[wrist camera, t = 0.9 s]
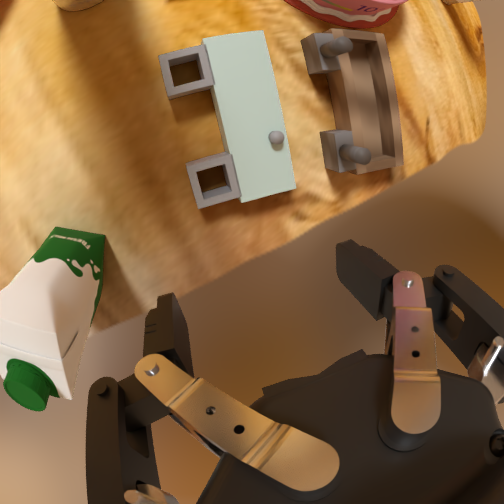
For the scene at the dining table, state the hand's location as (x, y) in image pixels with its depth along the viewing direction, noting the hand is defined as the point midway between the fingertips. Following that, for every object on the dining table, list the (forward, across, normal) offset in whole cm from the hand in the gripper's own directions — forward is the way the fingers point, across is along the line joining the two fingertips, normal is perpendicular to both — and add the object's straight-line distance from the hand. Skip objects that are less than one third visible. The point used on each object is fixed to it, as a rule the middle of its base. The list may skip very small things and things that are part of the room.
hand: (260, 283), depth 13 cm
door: (+20, -3, -7) cm, 22 cm away
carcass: (+20, -19, -7) cm, 29 cm away
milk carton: (+20, +18, +3) cm, 28 cm away
